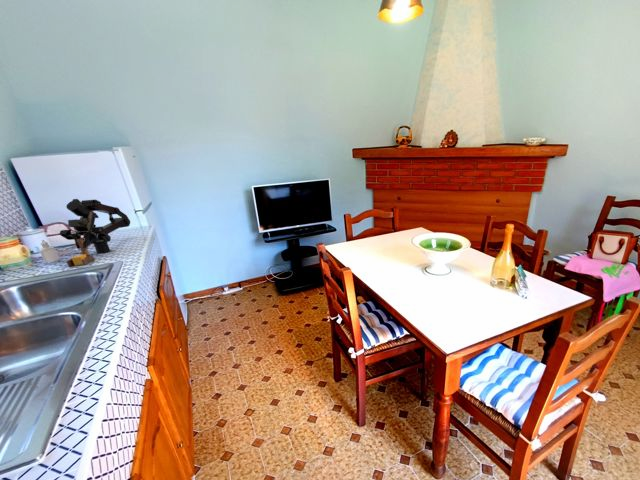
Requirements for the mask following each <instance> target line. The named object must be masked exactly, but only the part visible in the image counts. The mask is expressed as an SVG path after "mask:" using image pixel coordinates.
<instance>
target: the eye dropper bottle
mask: <svg viewBox="0 0 640 480" xmlns="http://www.w3.org/2000/svg"><path fill="white" fill-rule="evenodd" d="M40 245H41V248H40V249H39V250H38V251H39V254H40V256H41V259H42V260H43V262H44V264H50V263H53V262H54V263H55V262H58V261H60V260H61V258H60V257H59V254H58V253H57V250H56V248H55V247H54V246H50V245H49V242H47V241H45V240H44V239H42V240H41V242H40Z"/></svg>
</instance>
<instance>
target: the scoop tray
mask: <svg viewBox="0 0 640 480" xmlns="http://www.w3.org/2000/svg"><path fill="white" fill-rule="evenodd" d="M83 239H84V237H81V238H80V239H77V242H78V244H79V247H80V249H79V250H80V251H81V255H83V254H86V256H87V257H86V258H84V259H82V262H83V264H84V265H74V263H73V260H72V258H70V259H68V260H66V262H65V263H66V264H67V266H68V268H75V267H85V266H87V265H89V264H91V263H93V262H95V258H94V255H93V254H90V253H89V249H88V247H87V248H83V245H84V240H85V239H84V240H83Z"/></svg>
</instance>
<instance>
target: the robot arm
mask: <svg viewBox="0 0 640 480" xmlns="http://www.w3.org/2000/svg"><path fill="white" fill-rule="evenodd" d="M66 209H67V210H68V211H70V213H73V214H74V215H75V216H76V217H79V219H78V218H77V219H68V220H67V225H68V228H69V229H62V230H60V231H59V235H60V236H61V237H62V238H64V239H66V240H68V241H72V240H73V241H74V242H75V243H74V244H75V246H76V249H77V250H81V249H80V247H79V244H78V242H77V239H80V238H82V236H83V240H84V245H83V248H87V249H88V247H89V246H90V245H92V244H93V246H94V250H95V251H96V254H99V255H100V254H107V253H110V252H111V248H110V246H109V244H108V243H109V242H111V240H112V238H111V237H112V236H110V235H109V234H111V233H112V232H115V231H116V230H118V229H123V228H127V227H128V228H129V227H130V225H131V220H130V218H129V217H128V215H127V214H126V213H124V212H123V211H121V210H120V208H119V207H116V206H111V205H108V204H103V203H102V202H101V201H100V200H97V199H85V200H83V199H82V200H80V199H78V198H73V199H72V200H71V201H69V202H68V203H67V204H66ZM96 212H99V213H103V214H108V220H109V223H107V224H105V225H103V226H102V225H101V226H97V225H96V224H95V222H96V219H99V215H98V214H97V213H96ZM113 215H117V216H118V217H114V216H113ZM70 228H73V230H71V229H70Z"/></svg>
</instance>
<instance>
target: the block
mask: <svg viewBox="0 0 640 480" xmlns="http://www.w3.org/2000/svg"><path fill="white" fill-rule="evenodd" d="M86 257H87V256H86V254H76V255H75V256H72V257H71V259H72V260H73V263H74V265H84V264H83V262H82V259H84V258H86Z"/></svg>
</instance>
